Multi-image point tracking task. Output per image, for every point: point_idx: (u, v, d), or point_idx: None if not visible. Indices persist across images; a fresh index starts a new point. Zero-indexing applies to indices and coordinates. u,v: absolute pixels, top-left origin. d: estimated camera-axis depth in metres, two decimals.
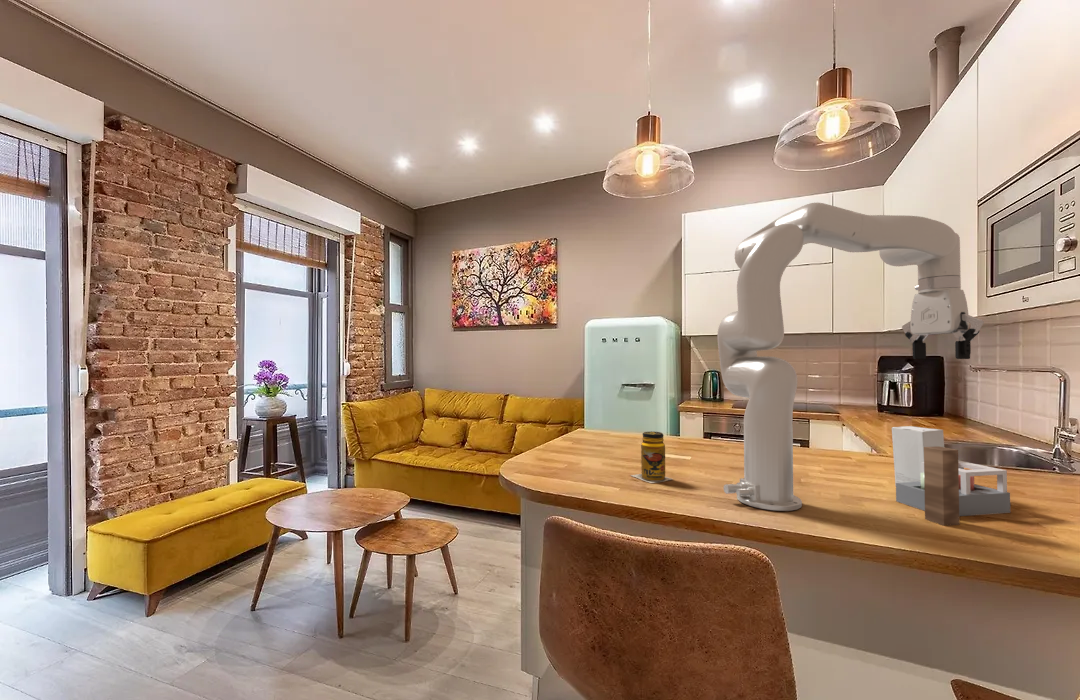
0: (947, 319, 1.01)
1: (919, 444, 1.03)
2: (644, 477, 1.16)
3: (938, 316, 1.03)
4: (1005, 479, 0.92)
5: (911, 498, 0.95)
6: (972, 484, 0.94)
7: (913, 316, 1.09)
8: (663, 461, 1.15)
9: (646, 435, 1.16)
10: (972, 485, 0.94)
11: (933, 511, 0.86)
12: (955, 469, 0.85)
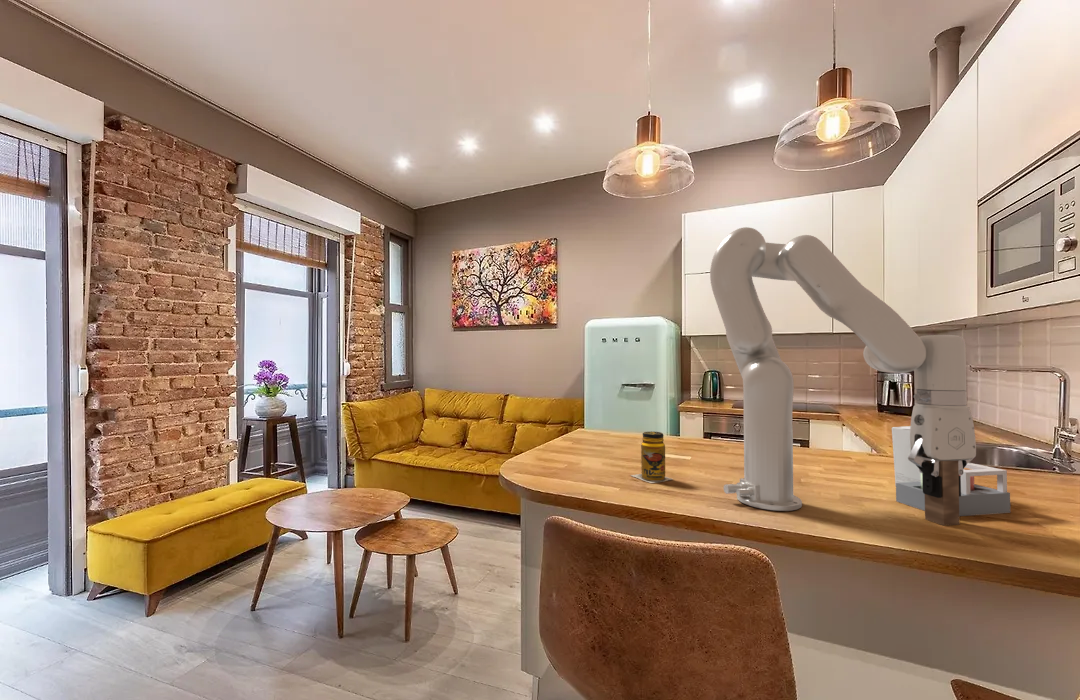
0: (973, 444, 0.84)
1: None
2: (644, 477, 1.16)
3: (965, 439, 0.84)
4: (1005, 479, 0.92)
5: (911, 498, 0.95)
6: (972, 484, 0.94)
7: (937, 437, 0.83)
8: (663, 461, 1.15)
9: (646, 435, 1.16)
10: (972, 485, 0.94)
11: (933, 511, 0.86)
12: (955, 469, 0.85)
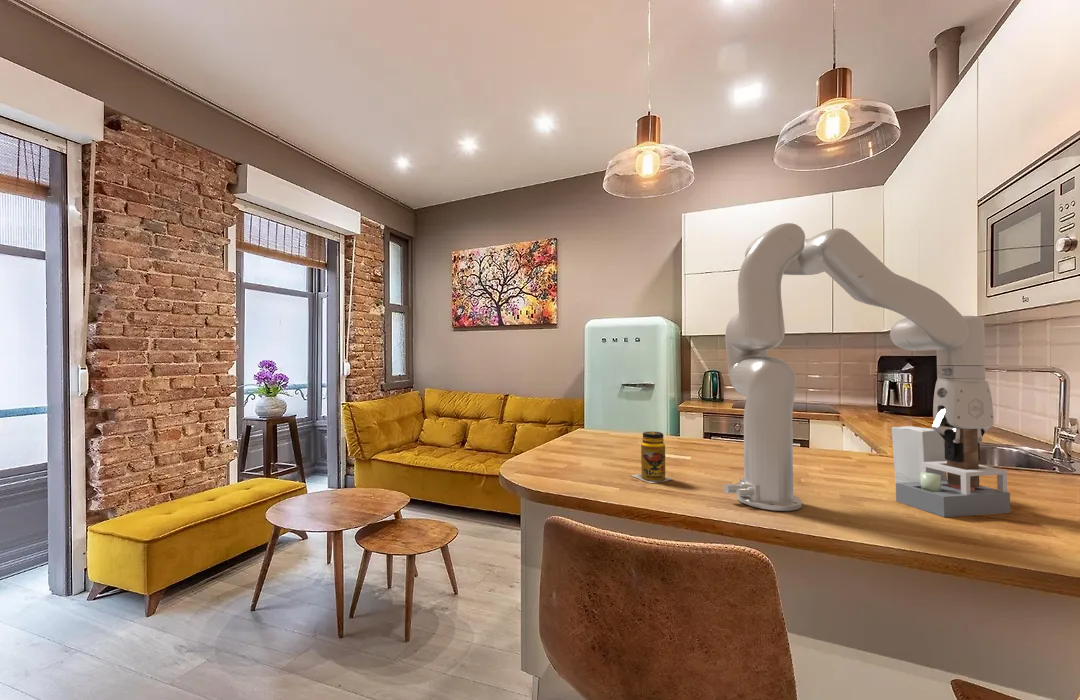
0: (991, 413, 0.93)
1: (919, 444, 1.03)
2: (644, 477, 1.16)
3: (983, 410, 0.93)
4: (1005, 479, 0.92)
5: (911, 498, 0.95)
6: None
7: (959, 407, 0.92)
8: (663, 461, 1.15)
9: (646, 435, 1.16)
10: None
11: (955, 475, 0.95)
12: (974, 436, 0.94)
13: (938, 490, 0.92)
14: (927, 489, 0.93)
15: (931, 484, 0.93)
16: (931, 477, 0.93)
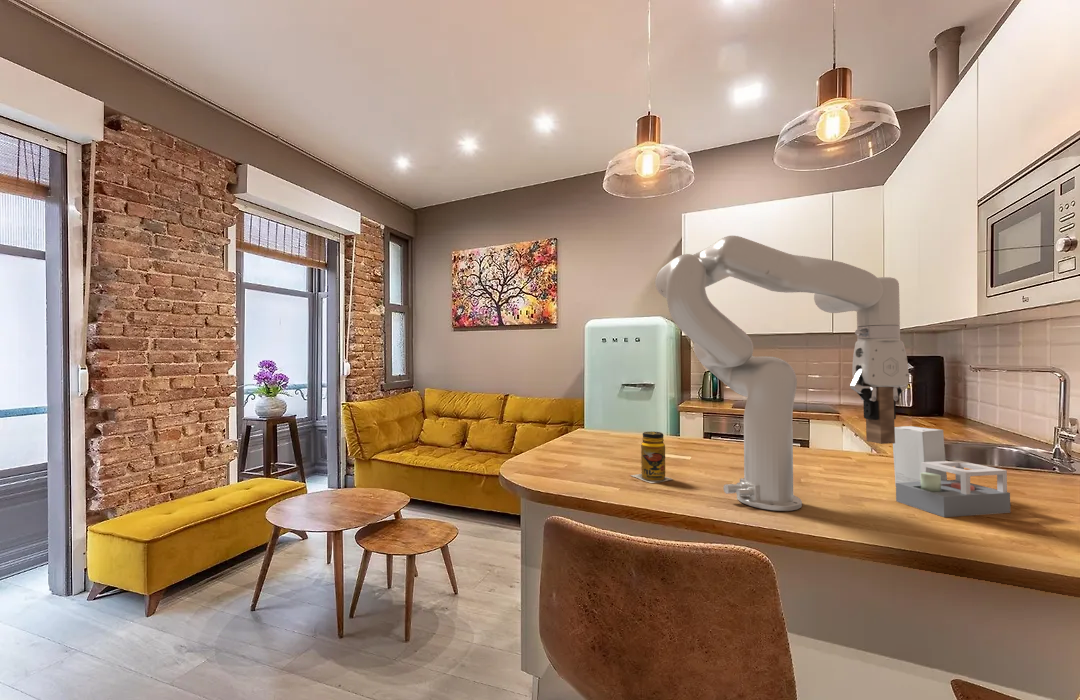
0: (905, 372, 0.96)
1: (919, 444, 1.03)
2: (644, 477, 1.16)
3: (898, 368, 0.96)
4: (1005, 479, 0.92)
5: (911, 498, 0.95)
6: None
7: (873, 366, 0.95)
8: (663, 461, 1.15)
9: (646, 435, 1.16)
10: None
11: (872, 433, 0.98)
12: (890, 394, 0.97)
13: (938, 490, 0.92)
14: (927, 489, 0.93)
15: (931, 484, 0.93)
16: (931, 477, 0.93)
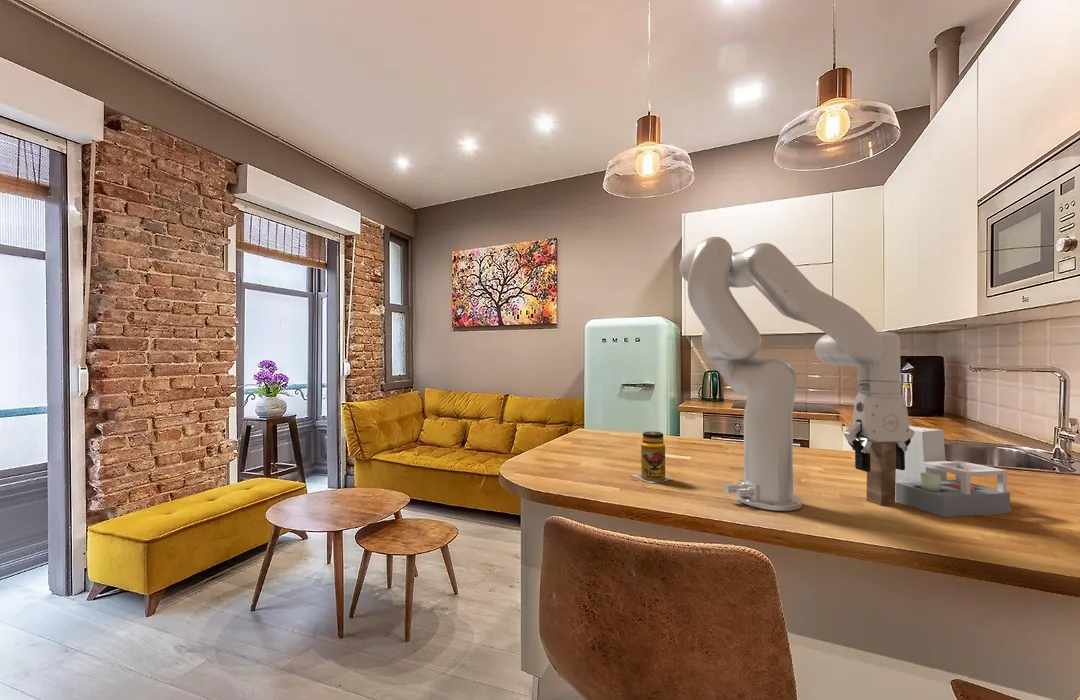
0: (906, 427, 0.96)
1: (919, 444, 1.03)
2: (644, 477, 1.16)
3: (899, 424, 0.96)
4: (1005, 479, 0.92)
5: (911, 498, 0.95)
6: None
7: (874, 422, 0.95)
8: (663, 461, 1.15)
9: (646, 435, 1.16)
10: None
11: (873, 493, 0.97)
12: (892, 456, 0.96)
13: (938, 490, 0.92)
14: (927, 489, 0.93)
15: (931, 484, 0.93)
16: (931, 477, 0.93)
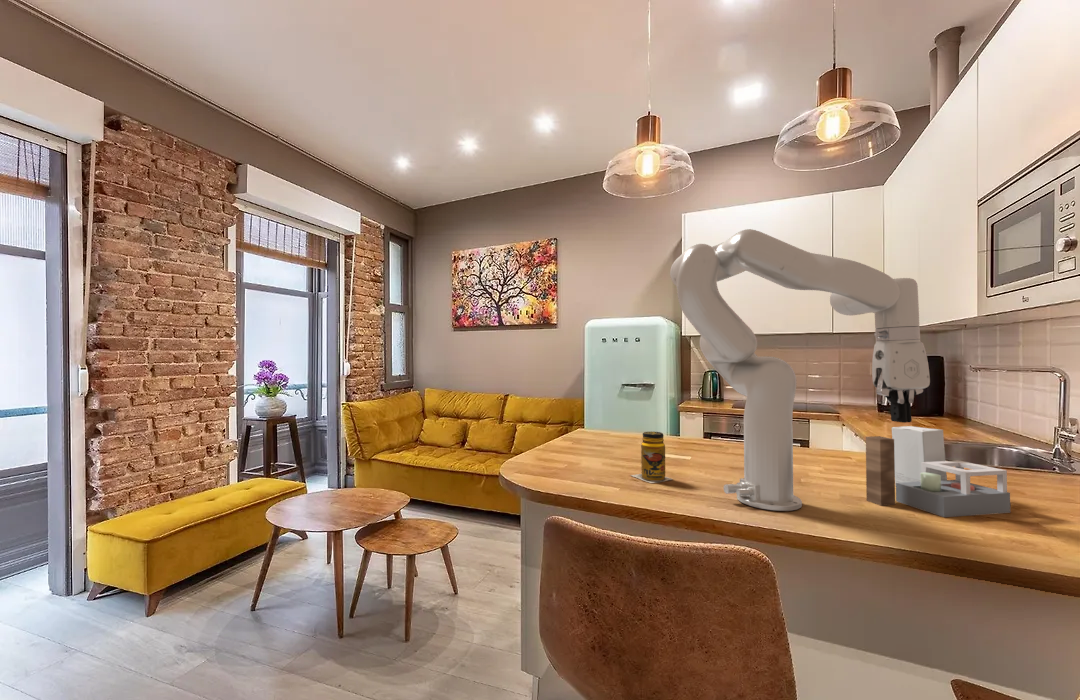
0: (926, 374, 0.95)
1: (919, 444, 1.03)
2: (644, 477, 1.16)
3: (919, 370, 0.94)
4: (1005, 479, 0.92)
5: (911, 498, 0.95)
6: None
7: (895, 368, 0.93)
8: (663, 461, 1.15)
9: (646, 435, 1.16)
10: None
11: (873, 493, 0.97)
12: (891, 456, 0.96)
13: (938, 490, 0.92)
14: (927, 489, 0.93)
15: (931, 484, 0.93)
16: (931, 477, 0.93)
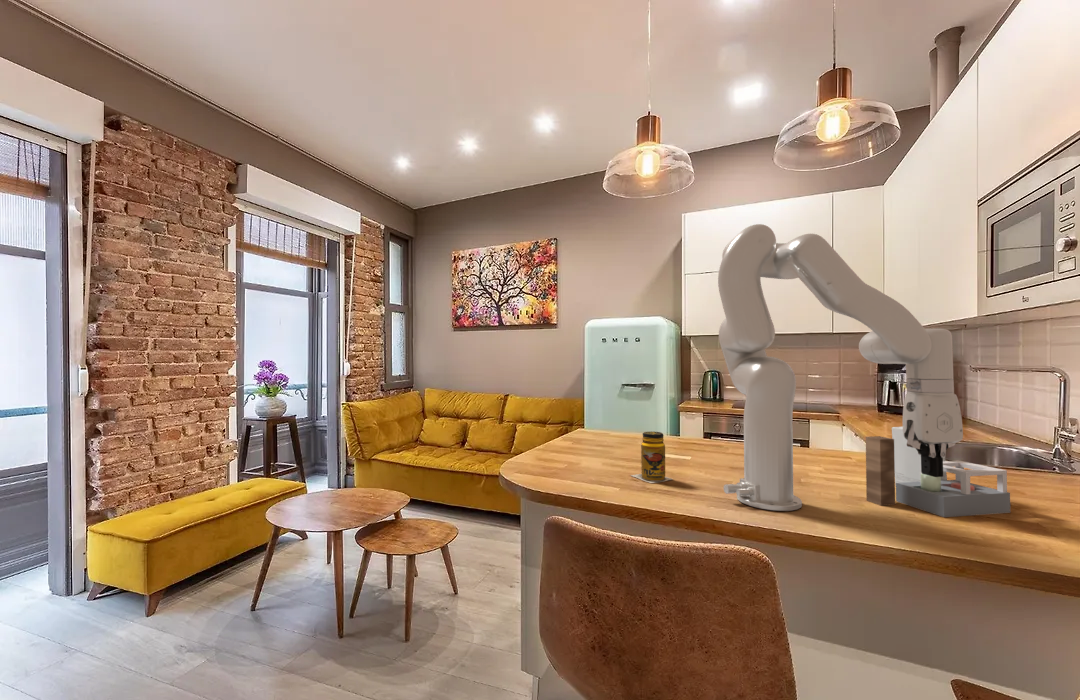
0: (960, 427, 0.92)
1: None
2: (644, 477, 1.16)
3: (952, 424, 0.92)
4: (1005, 479, 0.92)
5: (911, 498, 0.95)
6: None
7: (927, 422, 0.91)
8: (663, 461, 1.15)
9: (646, 435, 1.16)
10: None
11: (873, 493, 0.97)
12: (891, 456, 0.96)
13: (938, 491, 0.92)
14: (927, 490, 0.93)
15: (931, 485, 0.93)
16: (931, 478, 0.93)
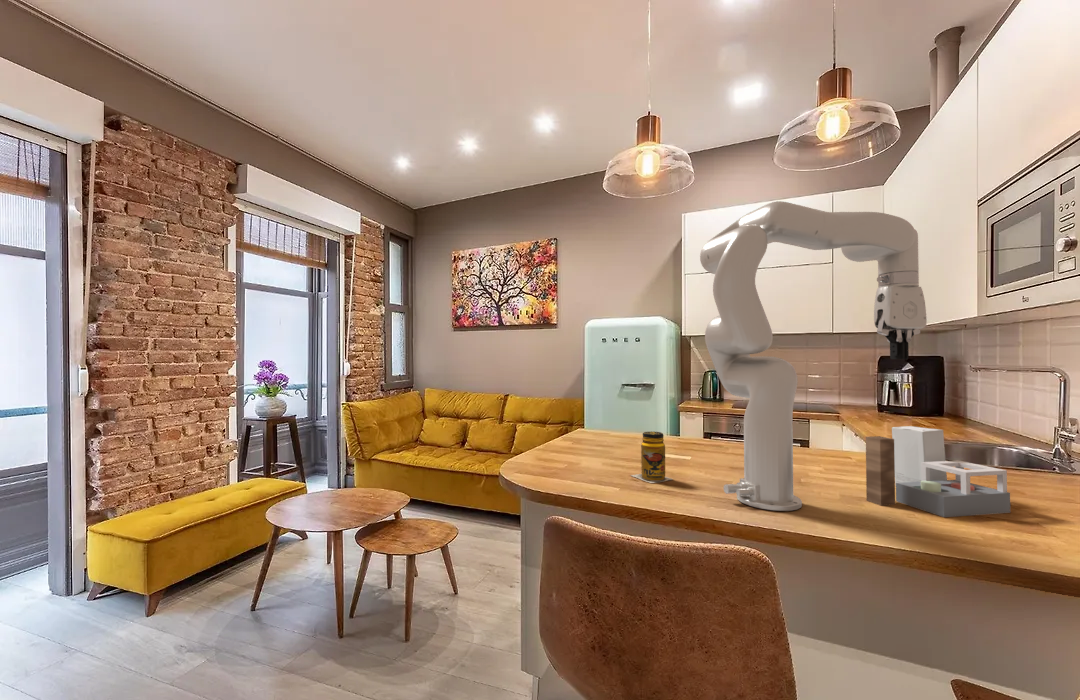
0: (924, 315, 1.04)
1: (919, 444, 1.03)
2: (644, 477, 1.16)
3: (917, 311, 1.04)
4: (1005, 479, 0.92)
5: (911, 498, 0.95)
6: None
7: (894, 309, 1.03)
8: (663, 461, 1.15)
9: (646, 435, 1.16)
10: None
11: (873, 493, 0.97)
12: (891, 456, 0.96)
13: None
14: None
15: None
16: (932, 486, 0.93)
